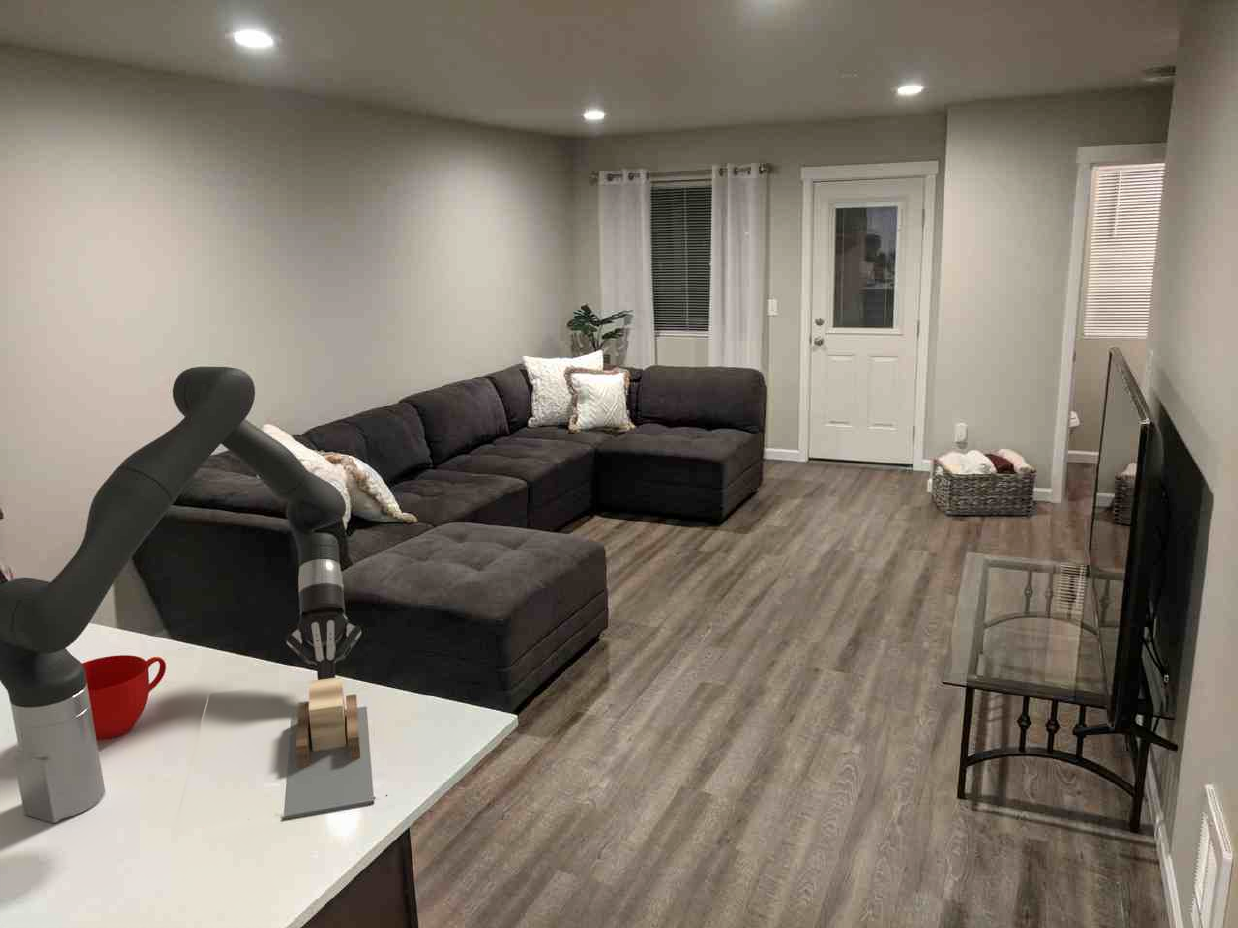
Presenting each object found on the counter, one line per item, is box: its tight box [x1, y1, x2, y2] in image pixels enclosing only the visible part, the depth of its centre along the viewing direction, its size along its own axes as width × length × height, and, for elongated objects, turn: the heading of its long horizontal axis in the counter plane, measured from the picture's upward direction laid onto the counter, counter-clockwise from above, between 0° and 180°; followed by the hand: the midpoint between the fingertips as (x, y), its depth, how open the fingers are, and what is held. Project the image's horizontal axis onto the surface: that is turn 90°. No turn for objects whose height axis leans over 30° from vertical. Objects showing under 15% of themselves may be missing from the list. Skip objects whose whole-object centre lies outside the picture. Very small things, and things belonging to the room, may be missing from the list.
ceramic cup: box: [81, 654, 167, 740], centre depth 153 cm, size 13×17×10 cm
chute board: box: [283, 705, 375, 820], centre depth 143 cm, size 28×12×1 cm, turn 17°
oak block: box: [308, 676, 347, 752], centre depth 149 cm, size 10×5×7 cm, turn 17°
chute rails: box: [296, 694, 360, 768], centre depth 148 cm, size 14×9×4 cm, turn 17°
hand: (327, 684), depth 158 cm, fingers closed
